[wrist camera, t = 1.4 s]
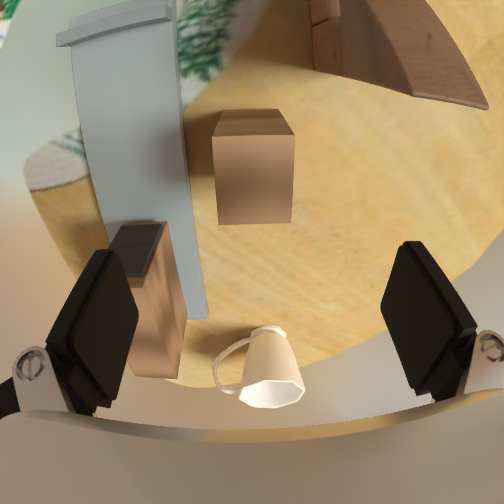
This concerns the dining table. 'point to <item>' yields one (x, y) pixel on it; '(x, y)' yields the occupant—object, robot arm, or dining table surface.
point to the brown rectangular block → (253, 167)
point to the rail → (137, 126)
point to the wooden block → (392, 49)
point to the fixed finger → (153, 298)
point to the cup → (266, 370)
